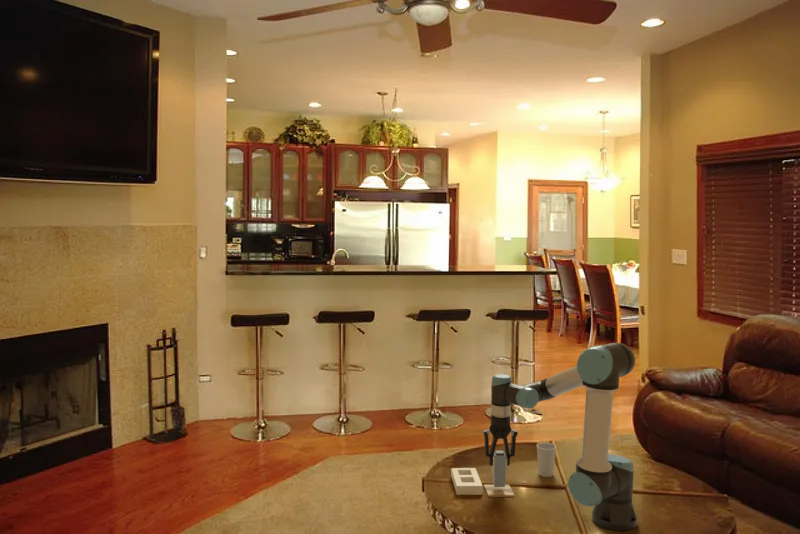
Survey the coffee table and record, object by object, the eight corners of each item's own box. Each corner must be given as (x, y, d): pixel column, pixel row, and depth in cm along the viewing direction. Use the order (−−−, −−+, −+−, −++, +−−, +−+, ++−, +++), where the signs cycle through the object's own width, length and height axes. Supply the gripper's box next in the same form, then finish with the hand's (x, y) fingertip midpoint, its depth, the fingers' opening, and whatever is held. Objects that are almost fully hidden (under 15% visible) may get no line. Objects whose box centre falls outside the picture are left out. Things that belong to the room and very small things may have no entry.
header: (482, 494, 252) (482, 485, 252) (456, 494, 251) (456, 486, 251) (475, 476, 270) (475, 468, 269) (451, 476, 269) (451, 468, 269)
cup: (557, 477, 269) (558, 449, 268) (537, 477, 269) (538, 449, 268) (553, 470, 277) (554, 442, 276) (534, 470, 277) (535, 442, 276)
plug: (504, 487, 253) (505, 453, 252) (494, 487, 253) (495, 453, 252) (502, 482, 257) (503, 449, 256) (492, 482, 257) (493, 450, 256)
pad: (514, 496, 250) (514, 495, 250) (488, 496, 250) (488, 495, 250) (508, 485, 260) (509, 484, 260) (484, 486, 260) (484, 484, 260)
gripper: (520, 411, 257) (518, 469, 259) (477, 411, 256) (475, 469, 258) (524, 417, 249) (523, 477, 251) (480, 417, 249) (479, 477, 250)
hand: (499, 473), depth 255 cm, fingers closed on plug, 4 cm apart
